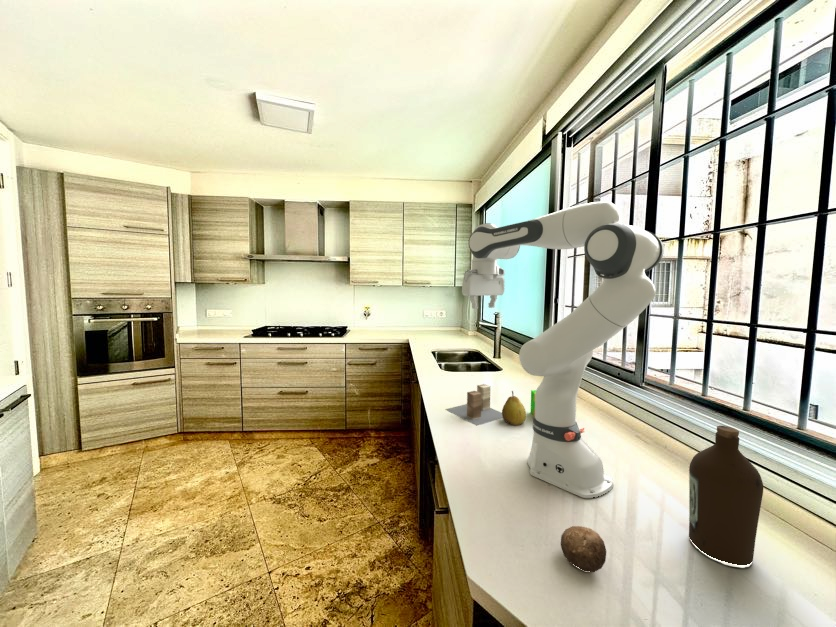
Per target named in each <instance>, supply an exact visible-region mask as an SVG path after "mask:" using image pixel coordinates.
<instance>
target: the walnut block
mask: <svg viewBox="0 0 836 627" xmlns="http://www.w3.org/2000/svg"><path fill="white" fill-rule="evenodd" d="M466 394H467V395H466V396H467V397H466V404H467V416H468V417H470V418H472V419H477V418H481V393H479V392H477V390H472V391H468V392H467V393H466Z"/></svg>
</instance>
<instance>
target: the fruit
mask: <svg viewBox="0 0 836 627" xmlns="http://www.w3.org/2000/svg"><path fill="white" fill-rule="evenodd" d="M501 413H502V416H503V418H502V419H503V420H504V421H505V422H506V423H508V424H510V425H513V426H519V425H522V424H523V423H524V422H525V421H526V418H527V412H526V408H525V406H524V404H523V403H522V402H521V400H520V399H519V398H518V397H517V396H516V395H514V390H511V396H509V397H508V398H507V399H506V401H505V403H504V405H503V407H502V410H501Z"/></svg>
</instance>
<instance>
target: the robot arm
mask: <svg viewBox="0 0 836 627" xmlns="http://www.w3.org/2000/svg"><path fill="white" fill-rule="evenodd" d="M521 246H528V247H537V248H543V249H548V250H549V249H551V250H570V249H572V250H573V249H577V248H583V250H584V255H585V257H586V259H587V260H586V261H588V263H589V264H590V265H591V266H592V268H593V270H594V271H595V274H596V275H597V277H598V278H601V279H603V281H602V282H601V284H600V285H599V286H598V288H596V289H595V290H594V291H593V292H592V293H590V295H588V297H587V298H586V299H584V300H583V301H582V302H581V303H580V304H579V305H578V306H577V307H575V309H574V310H572V311H571V312H570V313H569V314H568V315H566V317H564V318H562V319H561V320H559V321H558V322H556V323H554V324H553V325H551V326H550V327H549V328H547V329H545V330H544V331H543V332H542V333H540V334H539V335H537V336H536V337H534V338H532V339H531V340H528V341H527V342H525V343H524V344H523V345H522V346H521V348H520V349H519V353H518V360H519V362H520V365H521V367H522V369H523V370H524V371H525V372H526V373H527V374H528V375H531V376H534V377H543V378H542V381H541V382H540V383H539V385H538V387H537V388H536V392H535V415H534V416H533V415H532V416H533V417H532V431H533V433H532V434H533V436H532V443H531V447H530V452H529V455H528V458H527V465H528V467H529V473H530V476H532V477H534V478H537V479H539V480H541V481H544V482H546V483H549V484H550V485H552V486H555V487H558V488H560V489H562V490H564V491H567V492H569V493H571V494H573V495H576V496H578V497H580V498H582V499H594V498H593V497H595V498H598V496H599V497H601V495H602V496H604V495H606V494H607V493H609V492H610V491H611V490H612V489H613V486H614V480H613V478H612V477H611V476H609V475H607V474H606V473H605V469H604V465H603V461H602V459H601V457H600V456H599V455H598V454H597V453H596V452H595V451H594V450H593V449H592V447H591V446H590V445H589V444H588V443H587V442H586V441H585V440H584V439H583V437H582V435H581V434H583V433H585V427H583V428H581V429H580V428H579V425H578V422H577V421H576V417H577V416H576V415H577V398H578V393H579V389H580V386H581V383H582V382H581V381H582V378H583V376H584V372H585V370H586V367H588V364H589V363H590V361H592V357H593V353H594V350H595V349H597V348H599V347H601V346H603V345H604V344H605V343H607V342H609V341H610V339H612V338H613V337H615V336H616V335H617V334H618V333H620V332H621V331H622V330H623V329H625V328H626V327H627V326H628V325H630V324H631V323H632V322H633V321H635V319H637V318H638V316H640V314H642V313H643V312H644V310H645V309H647V307H648V306H649V305H650V304H651V303H652V301H653V300H654V299H655V296H656V294H657V293H656V291H657V290H656V287H655V285H654V283H653V281H652V280H651V279H650V277H648V276H647V275H646V272H649V271H651V270H653V269H654V268H655V267H657V266H658V265H659V264H660V262H661V260H662V259H663V257H664V255H665V246H664V244H663V241H662V240H661V239H660V238H659V237H658V235H656V233H654V232H651V231H648V230H645V229H643V228H641V227H639V226H635V225H630V224H624V223H623V222H622V214H621V212H620V209H619V208H618V206H617V205H616V204H615V203H613V202H611V201H605V200H604V201H603V200H602V201H594V202H589V203H588V202H587V203H583V204H578V205H574V206H571V207H567V208H563V209H561V210H558V211H555V212H552V213H549V214H545V215H542V216H538V217H536V218H532V219H528V220H526V221H521V222H517V223H512V224H508V225H505V226H504V225H503V226H499V227H498V226H497V225H496V224H494V223H489V222H486V223H481V224H478V225H477V226H476V227H475V228H474V229H473V232H472V233H471V235H470V236H469V239H468V248H469V251H470V253H471V255H472V259H471V269H469V268H468V269H466V270H465V272H464V273H463V278H462V285H461V294H462V295H463V296H464V297H466V296H467V297H468V296H469V301H470V303H471V309H473V310H475V309H477V310H478V309H479V303H477V297H478V296H484V297H485V296H489V299H490V301H489V302H488V304H487V305H488V307H487V308H491V309H492V308H495V306H496V305H495V304H496V301H497V299H498V296H503V295H504V293H505V283H506V282H505V277H504V276H505V274H506V271H505V269H504V268H502V267H501V266H499V264H497V263H498V262H497V260H509V259H513V258H514V257H516V255H518V253H519V251H520V247H521ZM608 491H609V492H608ZM605 493H606V494H605ZM603 494H604V495H603Z"/></svg>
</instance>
